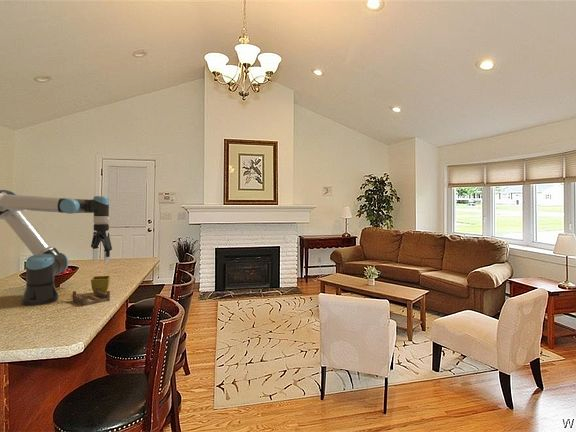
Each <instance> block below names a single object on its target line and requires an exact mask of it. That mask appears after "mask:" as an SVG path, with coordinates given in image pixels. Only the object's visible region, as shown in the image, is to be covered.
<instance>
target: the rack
mask: <svg viewBox="0 0 576 432" xmlns="http://www.w3.org/2000/svg"><path fill="white" fill-rule="evenodd" d="M110 295H111V290H107V291H106V293H103V292H100V288H99V287H97V288H96V294H94V293H93V294H90V295H87V294H84V295H82V296H78V295H77V291H76V290H74V291H72V302H74V303H75V304H78V303H79V304H78V305H81V306H82V305H83V307H84V306H89V305H95V304H99V303H104V302H109V301H111V296H110ZM89 299H91V300H89Z"/></svg>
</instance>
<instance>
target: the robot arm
mask: <svg viewBox="0 0 576 432" xmlns="http://www.w3.org/2000/svg"><path fill="white" fill-rule="evenodd" d="M109 201H110V199H109V196H105V195H103V196H102V195H94V196H93V198H92V199H87V198H86V199H85V198H84V199H82V198H81V199H80V198H65V197H63V198H61V197H53V196H52V197H50V196H35V195H21V194H17V193H16V192H13V191H11V190H8V189H0V220H4V221H5V222H6V223H7V224H8V225H9V227H10V228H11V229H12V231H13V232H14V233H15V234H16V236H17V237H18V238H19V240H20V241H22V243H23V244H24V245H25V246H26V247H27V249H28V250H29V251H30V252H31V254H32V255H30V256H29V257H27V258H26V261H25V271H26V272H25V274H26V275H25V277H26V279H25V281H26V282H25V284H26V286H25V290H24V292H23V295H22V298H21V304H22V305H26V306H35V305H36V306H37V305H46V304H50V303H53V302H56V301H58V300H59V293H58V290H57V288H56V286H55V276H57V275H61V274H62V273H63V272H65V271H66V270H67V269H68V267H69V264H70V261H69V258H68V256H67V255H66V254H64V253H63V252H60V251H59V250H58V249H57V248H56V247H55V246H52V245H51V246H50V244H49V243H48V242H47V240H46V239H45V238H44V237H43V235H42V234H41V233H40V232H39V231H38V229H37V228H36V227H35V225H33V223H32V222H31V221H30V220H29V218H28V217H27V216H26V215H25V213H24V212H23V211H27V212H29V211H30V212H44V213H46V212H47V213H60V214H61V213H62V214H69V215H70V214H87V213H88V214H93V235H92V240H91V244H90V248H92V261H98V260H99V246H100V243H102V246H103V263H104V264H108V263H110V262H111V261H110V258H111V257H110V256H111V253H110V252H111V251H112V250H113V245H112V242H111V239H110V232H107V231H109V230H110V224H109V222H110V221H109V220H110V212H109V211H110V202H109Z"/></svg>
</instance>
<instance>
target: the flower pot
mask: <svg viewBox="0 0 576 432" xmlns="http://www.w3.org/2000/svg"><path fill="white" fill-rule="evenodd" d="M110 281H111V275H96V276H93V277H91V279H90V283H91V290H92V292H93V295H94V294H96V288H97V287H99V288H100V292H103V293H106V291H108V289H109V286H110V284H111V283H110Z"/></svg>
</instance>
